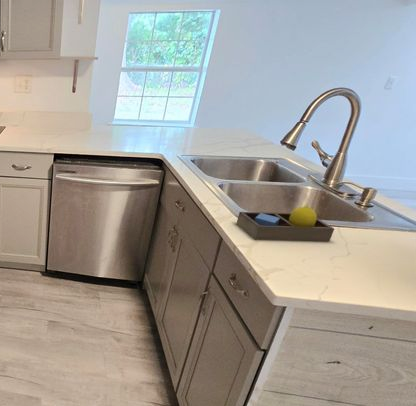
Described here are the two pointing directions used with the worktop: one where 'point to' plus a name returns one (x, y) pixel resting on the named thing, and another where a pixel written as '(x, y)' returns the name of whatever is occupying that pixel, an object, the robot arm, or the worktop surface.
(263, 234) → the tray
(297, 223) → the lemon
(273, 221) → the blue block
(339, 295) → the worktop surface
